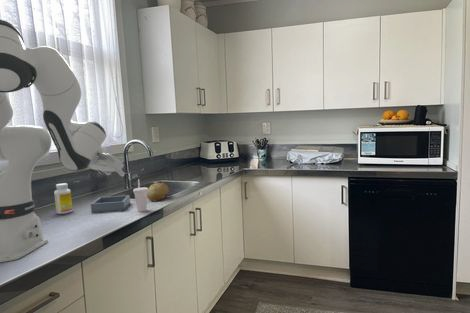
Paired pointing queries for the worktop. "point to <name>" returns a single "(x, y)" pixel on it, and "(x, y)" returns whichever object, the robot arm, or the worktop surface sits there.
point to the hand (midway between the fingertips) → (116, 174)
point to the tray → (110, 204)
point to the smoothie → (141, 197)
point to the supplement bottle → (63, 199)
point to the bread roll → (157, 191)
